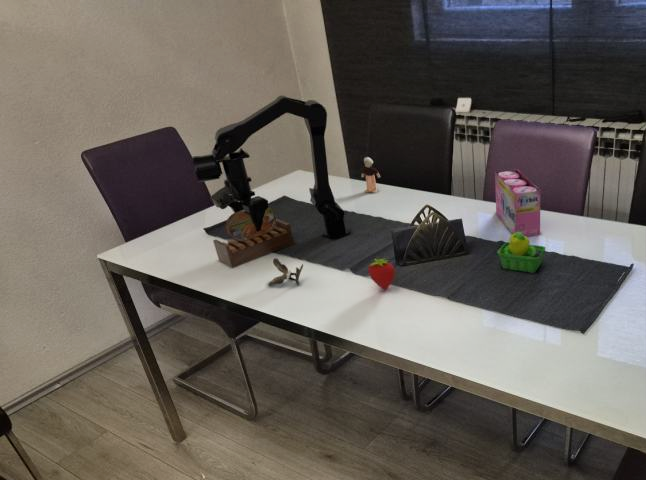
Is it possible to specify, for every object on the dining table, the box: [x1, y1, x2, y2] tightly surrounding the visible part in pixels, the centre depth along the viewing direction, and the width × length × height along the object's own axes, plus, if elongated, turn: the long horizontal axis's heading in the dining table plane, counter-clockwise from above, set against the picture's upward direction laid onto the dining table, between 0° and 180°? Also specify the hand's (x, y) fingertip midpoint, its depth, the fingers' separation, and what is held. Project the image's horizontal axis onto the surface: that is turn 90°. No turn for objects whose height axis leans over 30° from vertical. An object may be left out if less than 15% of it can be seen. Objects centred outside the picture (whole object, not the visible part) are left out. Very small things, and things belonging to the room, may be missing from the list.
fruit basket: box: [496, 232, 547, 274], centre depth 157 cm, size 11×9×11 cm
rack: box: [212, 218, 295, 269], centre depth 180 cm, size 8×21×6 cm, turn 135°
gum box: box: [494, 168, 542, 237], centre depth 184 cm, size 24×8×14 cm, turn 12°
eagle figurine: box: [268, 258, 304, 287], centre depth 161 cm, size 8×7×9 cm
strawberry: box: [368, 257, 396, 291], centre depth 152 cm, size 6×8×10 cm
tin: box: [225, 206, 277, 241], centre depth 177 cm, size 15×3×8 cm, turn 135°
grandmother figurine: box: [360, 156, 381, 194], centre depth 219 cm, size 8×4×13 cm, turn 80°
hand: (250, 227), depth 177 cm, fingers open, 9 cm apart
